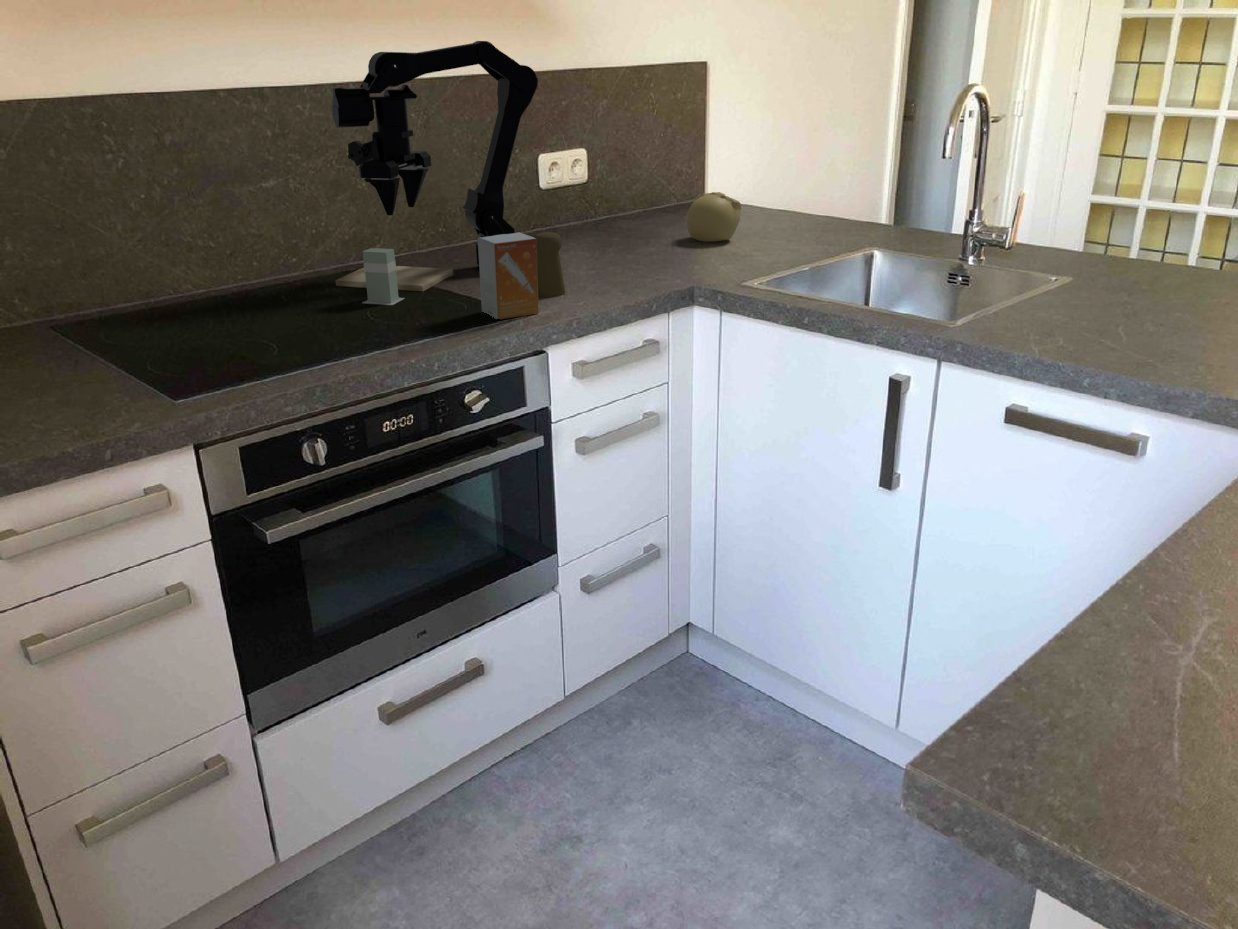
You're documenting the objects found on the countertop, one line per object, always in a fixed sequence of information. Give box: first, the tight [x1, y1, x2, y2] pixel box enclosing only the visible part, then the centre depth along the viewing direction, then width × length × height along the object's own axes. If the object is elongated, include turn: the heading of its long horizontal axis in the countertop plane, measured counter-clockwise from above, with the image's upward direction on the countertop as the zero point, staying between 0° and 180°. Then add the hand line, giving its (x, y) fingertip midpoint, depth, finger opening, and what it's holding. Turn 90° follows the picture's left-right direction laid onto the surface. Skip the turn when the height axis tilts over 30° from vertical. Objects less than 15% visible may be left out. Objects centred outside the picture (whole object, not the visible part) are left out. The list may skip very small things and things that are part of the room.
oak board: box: [334, 265, 454, 292], centre depth 192 cm, size 18×14×1 cm
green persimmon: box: [686, 191, 742, 243], centre depth 224 cm, size 12×12×11 cm
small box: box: [477, 232, 540, 320], centre depth 168 cm, size 8×6×13 cm
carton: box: [362, 247, 400, 303], centre depth 176 cm, size 5×3×9 cm
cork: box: [533, 231, 566, 298], centre depth 181 cm, size 6×6×11 cm
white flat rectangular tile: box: [361, 297, 405, 306], centre depth 178 cm, size 6×5×1 cm
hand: (400, 210), depth 189 cm, fingers open, 9 cm apart
